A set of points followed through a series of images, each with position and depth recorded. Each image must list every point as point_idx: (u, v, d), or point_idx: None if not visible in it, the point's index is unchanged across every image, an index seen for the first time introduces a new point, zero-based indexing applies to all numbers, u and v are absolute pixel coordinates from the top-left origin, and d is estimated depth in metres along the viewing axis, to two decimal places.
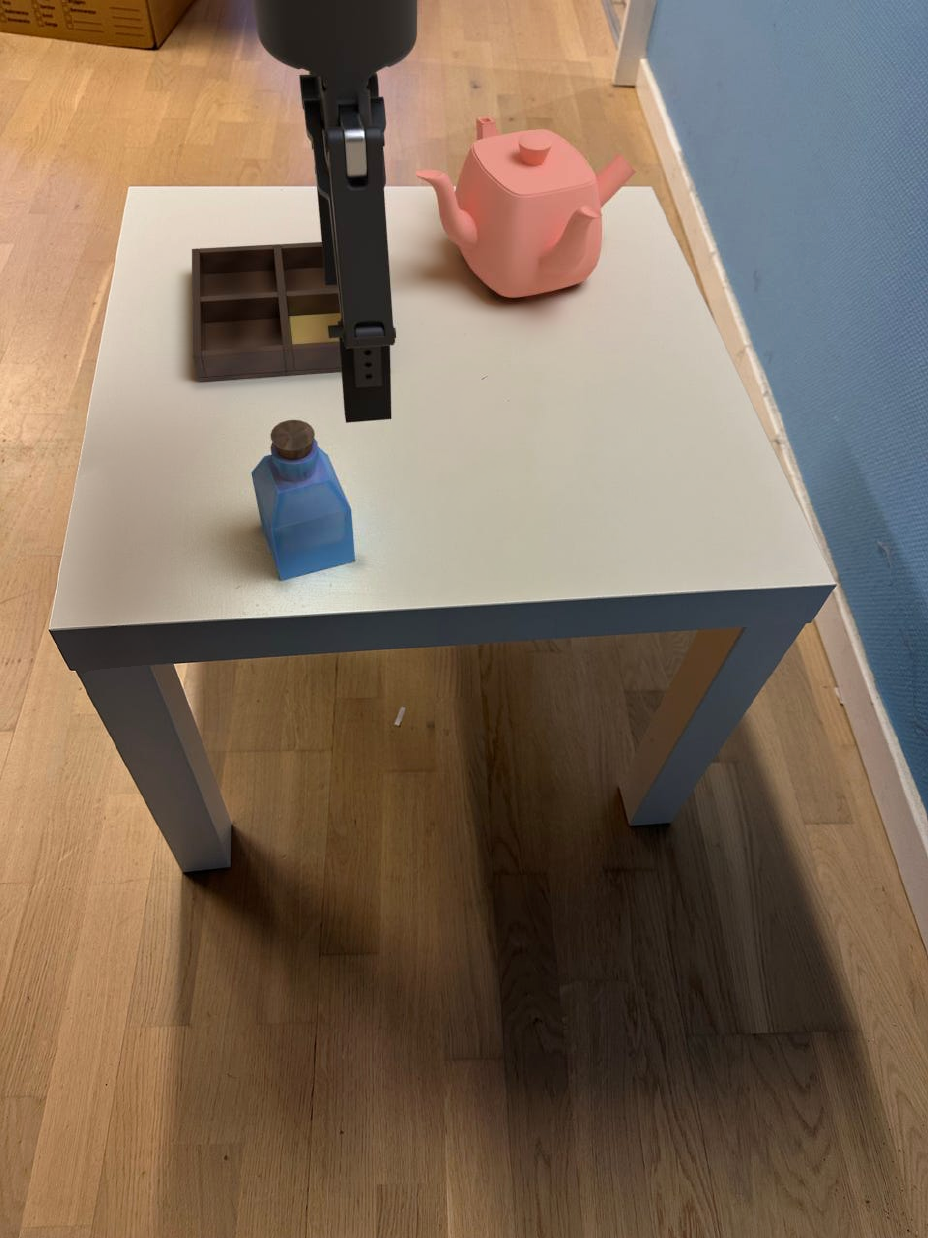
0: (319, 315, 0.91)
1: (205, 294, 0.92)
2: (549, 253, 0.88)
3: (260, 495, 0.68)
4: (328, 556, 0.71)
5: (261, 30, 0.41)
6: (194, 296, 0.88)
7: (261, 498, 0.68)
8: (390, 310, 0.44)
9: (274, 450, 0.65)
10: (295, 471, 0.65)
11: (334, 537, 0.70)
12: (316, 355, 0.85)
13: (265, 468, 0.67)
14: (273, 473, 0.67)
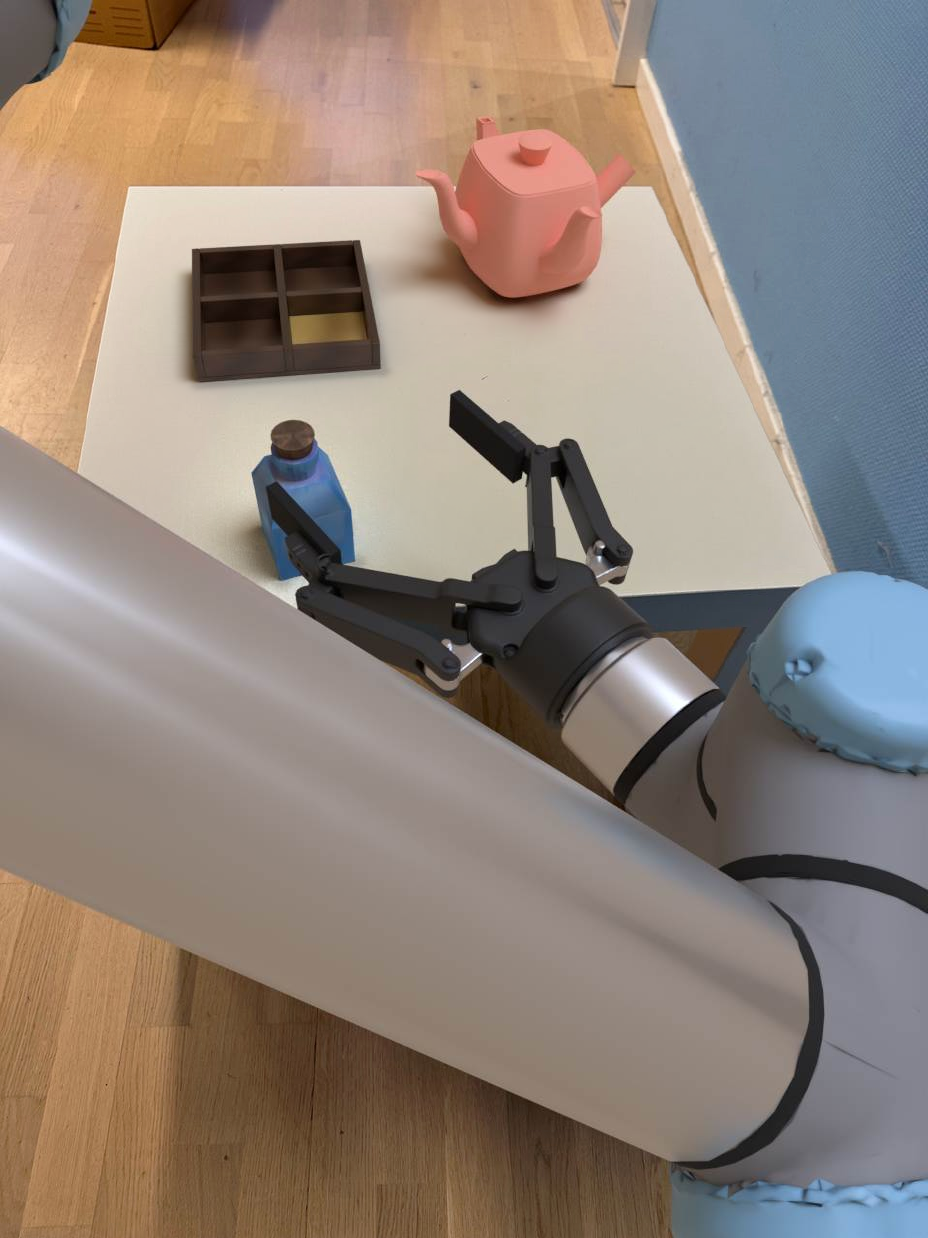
0: (319, 315, 0.91)
1: (205, 294, 0.92)
2: (549, 253, 0.88)
3: (260, 495, 0.68)
4: None
5: (563, 621, 0.44)
6: (194, 296, 0.88)
7: (261, 498, 0.68)
8: None
9: (274, 450, 0.65)
10: (295, 471, 0.65)
11: (334, 537, 0.70)
12: (316, 355, 0.85)
13: (265, 468, 0.67)
14: (273, 473, 0.67)
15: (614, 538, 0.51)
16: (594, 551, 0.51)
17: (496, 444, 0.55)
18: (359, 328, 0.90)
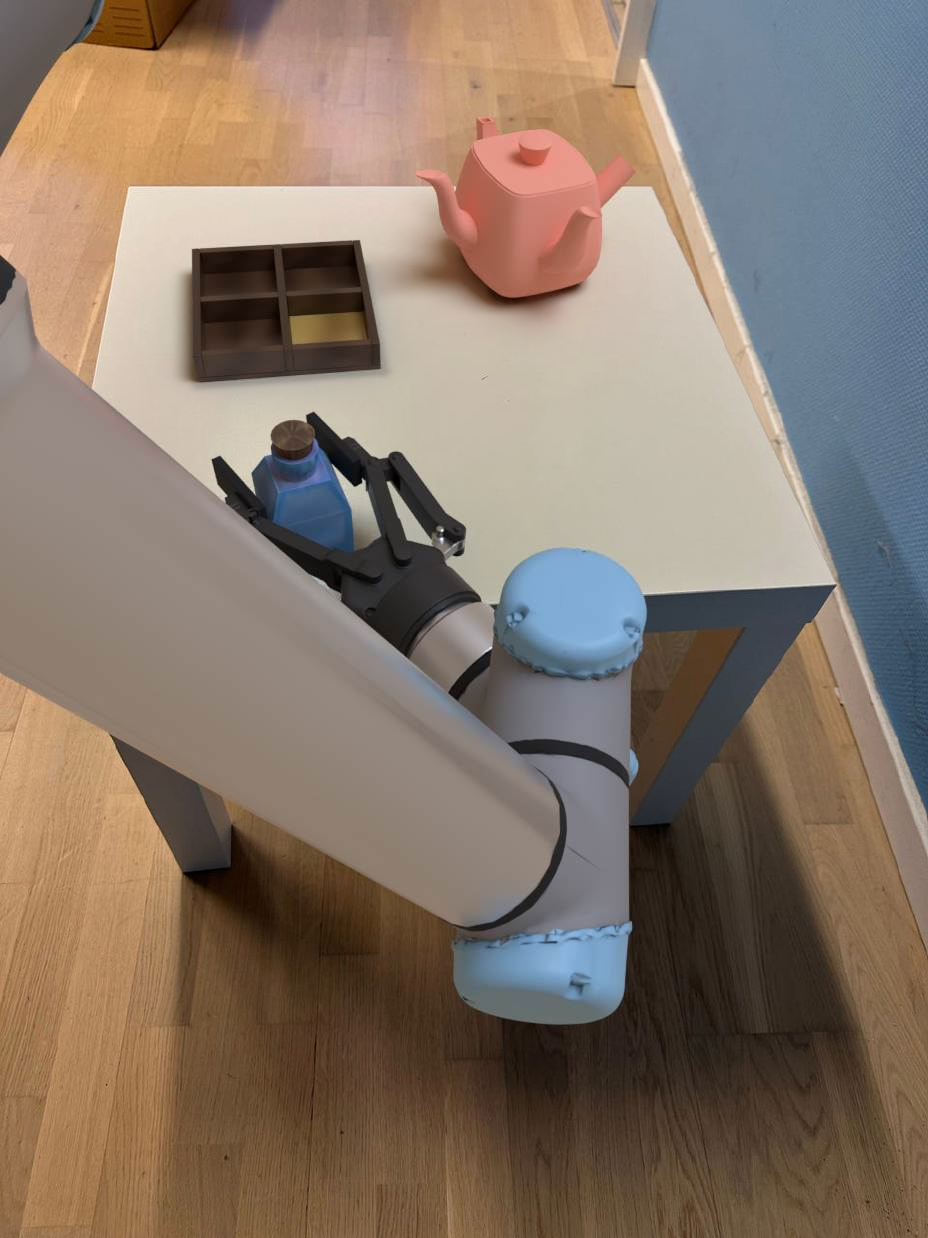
0: (319, 315, 0.91)
1: (205, 294, 0.92)
2: (549, 253, 0.88)
3: (260, 495, 0.68)
4: None
5: (405, 589, 0.59)
6: (194, 296, 0.88)
7: (261, 498, 0.68)
8: None
9: (274, 450, 0.65)
10: (295, 471, 0.65)
11: (334, 537, 0.70)
12: (316, 355, 0.85)
13: (265, 468, 0.67)
14: (273, 473, 0.67)
15: (449, 521, 0.65)
16: (437, 535, 0.65)
17: (339, 455, 0.69)
18: (359, 328, 0.90)
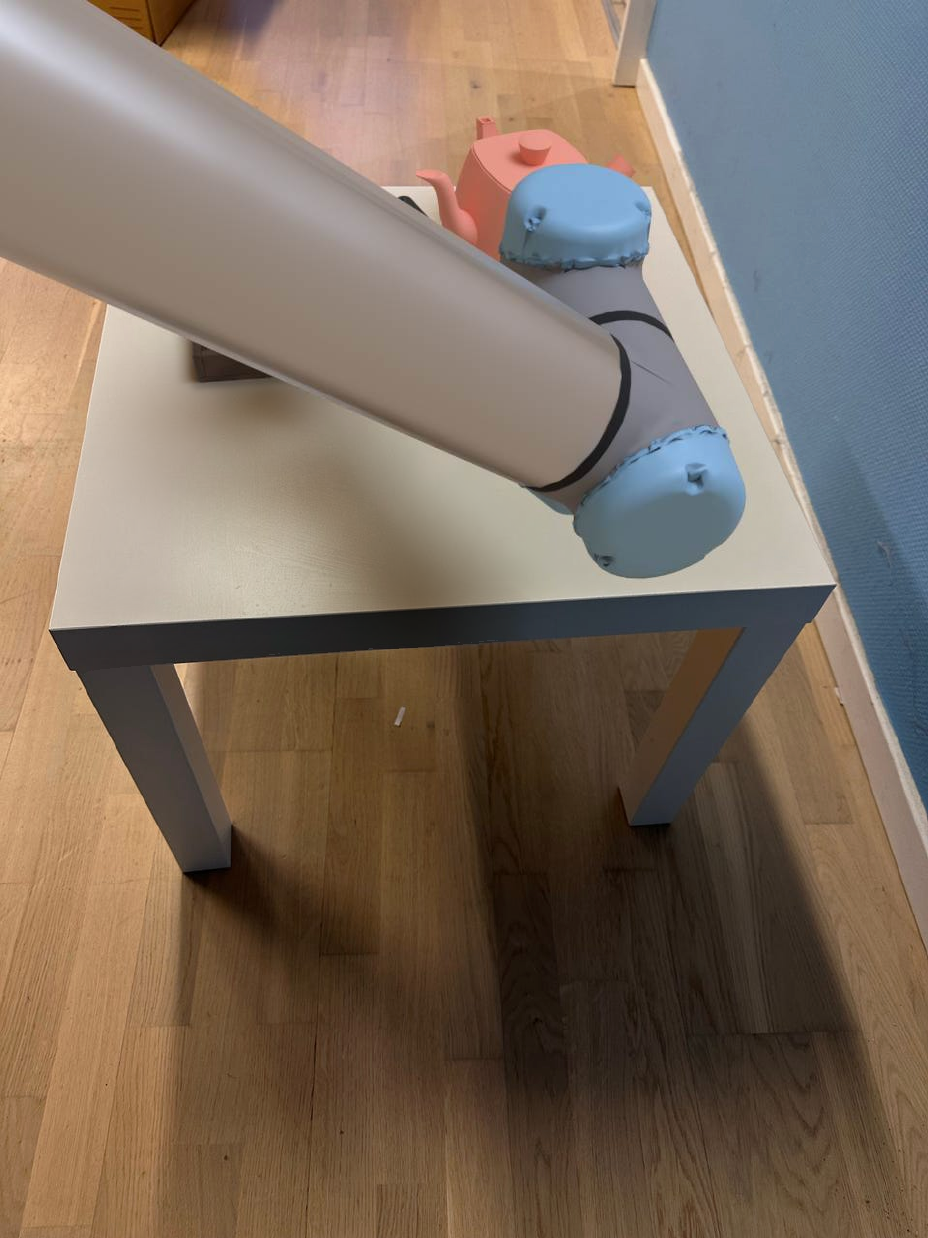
0: None
1: None
2: None
3: None
4: None
5: None
6: None
7: None
8: None
9: None
10: None
11: None
12: None
13: None
14: None
15: None
16: None
17: None
18: None
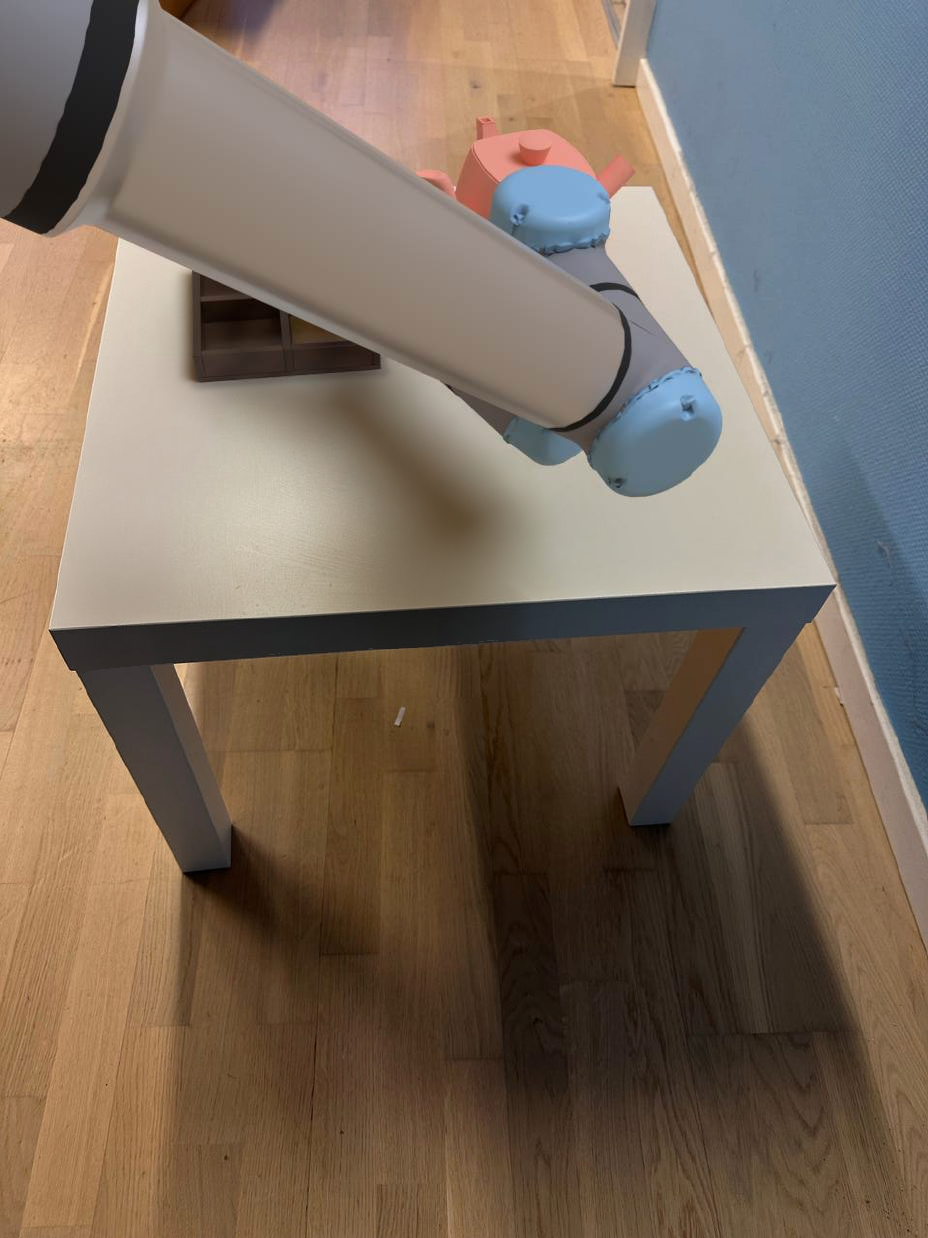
0: None
1: (205, 294, 0.92)
2: None
3: None
4: None
5: None
6: (194, 296, 0.88)
7: None
8: None
9: None
10: None
11: None
12: (316, 355, 0.85)
13: None
14: None
15: None
16: None
17: None
18: None
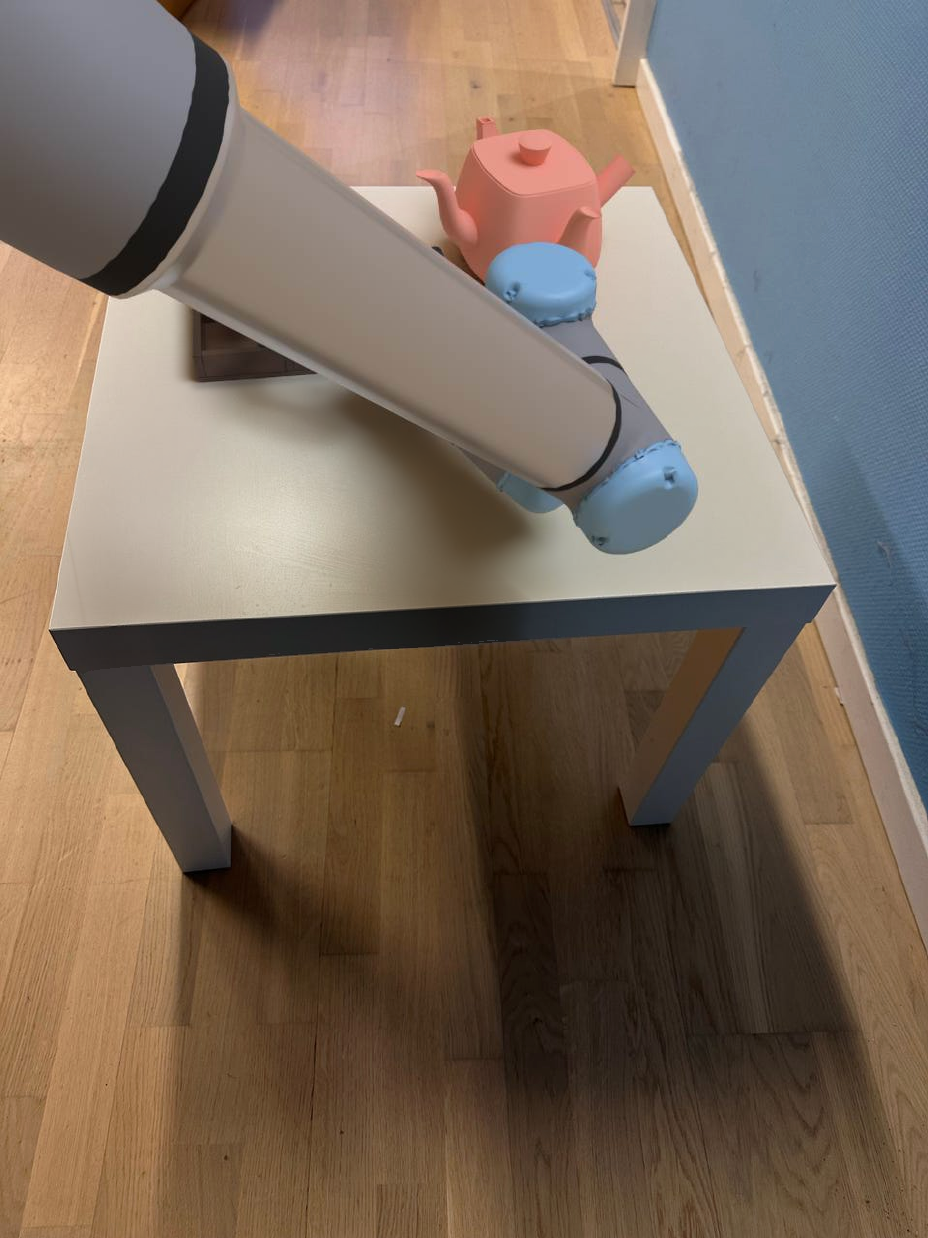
0: None
1: None
2: None
3: None
4: None
5: None
6: None
7: None
8: (270, 353, 0.77)
9: None
10: None
11: None
12: None
13: None
14: None
15: None
16: None
17: None
18: None
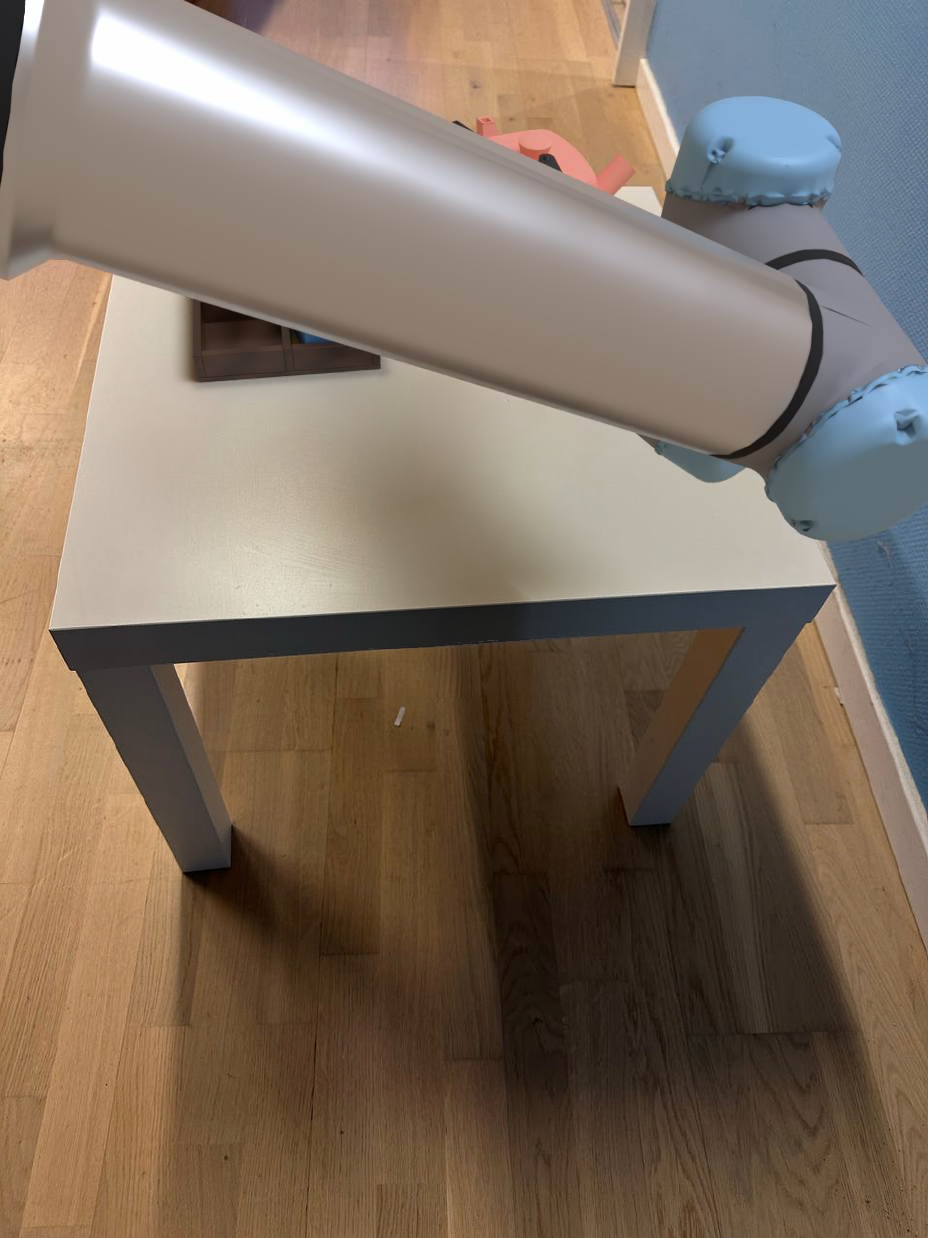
0: None
1: None
2: None
3: None
4: None
5: None
6: None
7: None
8: None
9: None
10: None
11: None
12: (316, 355, 0.85)
13: None
14: None
15: None
16: None
17: None
18: None
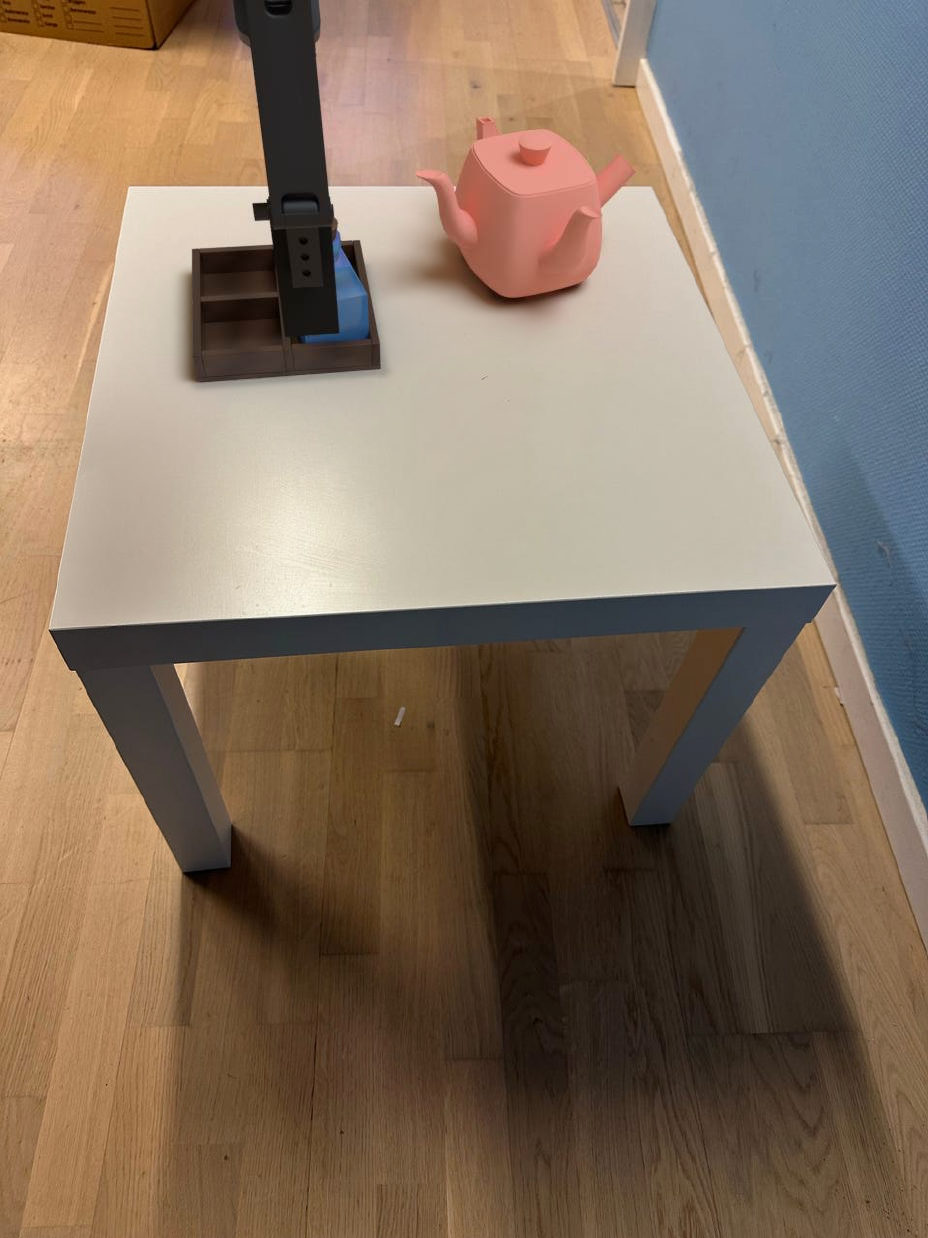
0: None
1: (205, 294, 0.92)
2: (549, 253, 0.88)
3: None
4: None
5: None
6: (194, 296, 0.88)
7: None
8: (325, 179, 0.36)
9: None
10: None
11: (353, 321, 0.85)
12: (316, 355, 0.85)
13: None
14: None
15: None
16: None
17: None
18: None
